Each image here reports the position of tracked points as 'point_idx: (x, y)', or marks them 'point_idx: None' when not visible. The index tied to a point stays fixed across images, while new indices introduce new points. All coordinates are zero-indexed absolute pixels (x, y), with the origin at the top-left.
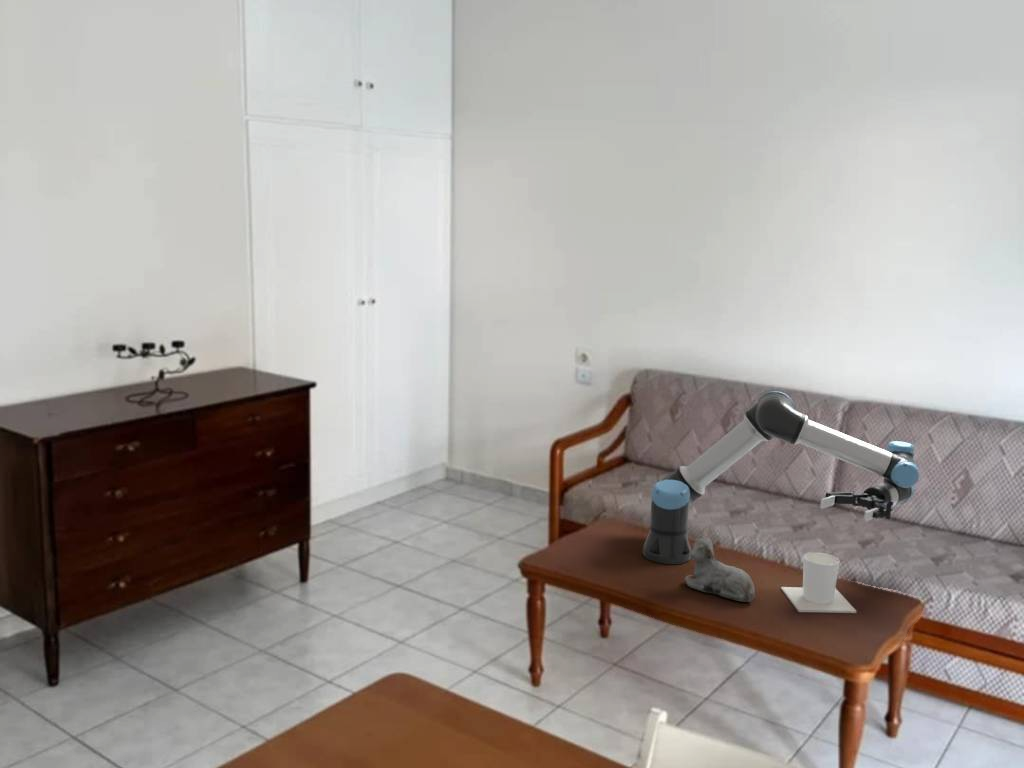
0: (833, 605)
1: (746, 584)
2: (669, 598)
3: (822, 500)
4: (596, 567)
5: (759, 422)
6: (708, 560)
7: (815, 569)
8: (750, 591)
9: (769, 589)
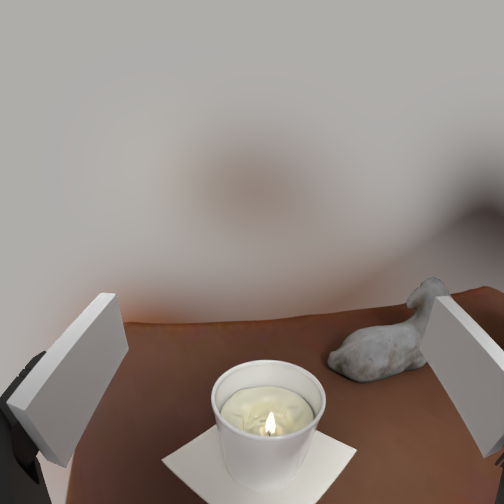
0: (214, 454)
1: (344, 342)
2: (388, 318)
3: (438, 301)
4: (483, 312)
5: None
6: (414, 312)
7: (256, 374)
8: (333, 351)
9: (365, 432)
